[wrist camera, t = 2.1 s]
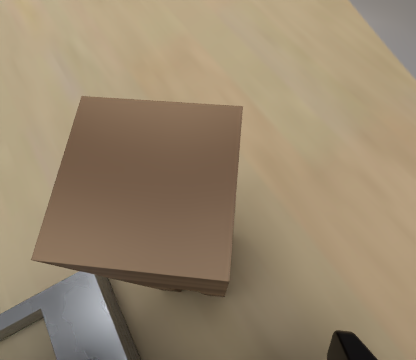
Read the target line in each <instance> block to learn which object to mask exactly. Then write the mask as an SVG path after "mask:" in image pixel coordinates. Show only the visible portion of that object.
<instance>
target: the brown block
mask: <svg viewBox="0 0 416 360" xmlns="http://www.w3.org/2000/svg"><path fill="white" fill-rule="evenodd" d="M242 110H243V106H229V105H213V104H197V103H182V102H166V101H150V100H134V99H119V98H103V97H87V96H82V97H81V100H80V103H79V106H78V110H77V113H76V116H75V119H74V123H73V126H72V129H71V132H70V136H69V139H68V142H67V145H66V148H65V152H64V155H63V158H62V161H61V165H60V168H59V171H58V174H57V178H56V181H55V184H54V187H53V190H52V194H51V197H50V200H49V203H48V207H47V210H46V213H45V216H44V220H43V223H42V226H41V229H40V233H39V236H38V239H37V242H36V245H35V249H34V252H33V255H32V258H31V260H33V261H38V262H42V263H46V264H51V265H55V266H60V267H64V268H68V269H73V270H77V271H81V272H86V273H90V274H95V275H99V276H103V277H108V278H112V279H116V280H121V281H125V282H130V283H134V284H138V285H143V286H147V287H151V288H156V289H160V290H168V291H177V292H181V290H190V291H199V292H201V293H203V294H205V295H212V296H221V297H225V293H226V290H227V287H228V284H229V278H230V265H231V252H232V239H233V226H234V213H235V200H236V187H237V175H238V162H239V149H240V136H241V123H242Z"/></svg>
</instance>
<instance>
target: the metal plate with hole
mask: <svg viewBox="0 0 416 360" xmlns="http://www.w3.org/2000/svg"><path fill="white" fill-rule="evenodd" d="M43 317H44V320H45V323H46V327H47V330H48V333H49V336H50V339H51V343H52V346H53V349H54V352H55V355H56V359H57V360H141V359H140V357H139V354H138V352H137V349H136V347H135V344H134V342H133V339H132V337H131V335H130V332H129V330H128V327H127V325H126V322H125V320H124V317H123V315H122V312H121V310H120V307H119V305H118V303H117V300H116V298H115V295H114V293H113V290H112V288H111V285H110V283H109V280H108V278H107V277H103V276H99V275H95V274H90V273H86V272H81V271H79V272H77V273H75V274H74V275H72V276H70V277H68V278H66V279H64V280H62V281H61V282H59V283H57V284H55V285H53V286H51V287H50V288H48V289H46V290H44V291H42V292H40V293H38V294H37V295H35V296H33V297H31V298H29V299H27V300H26V301H24V302H22V303H20V304H18V305H16V306H14V307H13V308H11V309H9V310H7V311H5V312H3V313H1V314H0V341H1V340H3V339H5V338H7V337H8V336H10V335H12V334H14V333H16V332H17V331H19V330H21V329H23V328H25V327H26V326H28V325H30V324H32V323H34V322H35V321H37V320H39V319H41V318H43Z"/></svg>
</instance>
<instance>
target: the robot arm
mask: <svg viewBox="0 0 416 360" xmlns="http://www.w3.org/2000/svg"><path fill="white" fill-rule="evenodd" d="M327 360H378V359H377V358H376V357H375V356H374V355H373V354H372V353H371V352H370V350H369V349H368V348H367V347H366V346H365V345H364V344H363V343H362V341H361V340H360V339H359V338H358V337H357V336H356V335H355V334H354V333H352V332H349V331H340V330H336V331H335V332H334V333H333V336H332V339H331V343H330V346H329V350H328V353H327Z"/></svg>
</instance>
